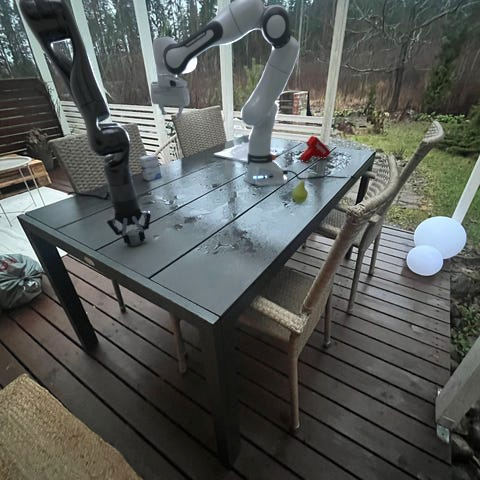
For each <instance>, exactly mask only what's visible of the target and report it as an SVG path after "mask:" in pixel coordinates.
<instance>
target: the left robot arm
mask: <svg viewBox="0 0 480 480" xmlns="http://www.w3.org/2000/svg"><path fill="white" fill-rule="evenodd" d="M18 7H19V11H20V13H21V16H22V17H23V20H24V21H25V23H26V26H27V27H28V28H29V30H30V33H32V35H33V37H34V39H36V41H37V43H38V44H39V46H40V47H41V49H42V50H43V52H44V54H45V55H46V57H47V58H48V60H49V62H50V63H51V64H52V66H53V68H54V70H55V72H56V73H57V75H58V77H59V79H60V81H61V83H62V85H63V86H64V88H65V91H66V92H67V94H68V96H69V98H70V99H71V101H72V103H73V104H74V105H75V107H76V109H77V111H78V112H79V114H80V116H81V118H82V119H83V121H84V126H85V130H86V137H87V138H86V139H87V143H88V146H89V148H90V150H91V152H92V153H94V154H95V155H96V156H98V157H104V158H103V163H104V164H103V168H102V169H103V173H104V176H105V180H106V184H107V189H108V190H106V195H105V197H103V196H100V195H98V194H95V193H94V194H93V193H83V192H77V191H73V190H72V191H69V192H68V193H67V196H70V195H71V194H75V195H77V196H78V195H79V196H86V197H96V198H99V199H101V200H107V199H108V198H109V199H110V200H111V204H112V206H113V211H114V215H113V216H112V217H107V218H106V224H107V225H108V226H109V228H110V229H111V230H112V231H113V233H114V234H115V235H116V236H122V237H123V238H122V239H123V242H124V244H127V245H130V244H129V240H128V237H127V232H128V231H127V230H128V227H130V226H133V225H134V226H136V227H137V230H139V232H140V236H141V240H142V242H144V241H145V240H146V235H145V231H146V230H149V229H150V223H151V217H152V214H151V212H150V210H146V211H143V210H142V209H141V208H140V204H139V200H138V195H137V190H136V187H135V185H134V181H133V178H132V173H131V169H130V153H131V141H130V136H129V133H128V132H127V131H126V129H125V128H123V127H122V126H121V125H120V124H119V123H118V122H103V121H105V120H108V119H109V118H110V117H111V111H110V107H109V106H108V103H107V101H106V99H105V96H104V94H103V92H102V90H101V88H100V85H99V83H98V80H97V78H96V75H95V72H94V70H93V66H92V62H91V60H90V56H89V53H88V51H87V48H86V45H85V42H84V40H83V37H82V34H81V30H80V29H79V25H78V23H77V21H76V18H75V15H74V14H73V11H72V9H71V7H70V5H69V3H68V1H66V0H19V1H18ZM65 41H70V44H71V49H72V59H71V58H70V57H68V56H67V55H66V54H65V53H63V52H62V51H61V50H60V48H59V47H58V46H57V45H56V44H55V43H59V42H65ZM142 216H143V218H144V223H143V224H142V222H141V221H140V220H141V218H142ZM116 221H117V222H118V223H120V224H121V229H120V228H119V227H118V226H117V224H116Z"/></svg>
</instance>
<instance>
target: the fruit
mask: <svg viewBox="0 0 480 480" xmlns="http://www.w3.org/2000/svg"><path fill="white" fill-rule="evenodd" d="M309 177H311V175H310V174H309V175H308V176H307V177H305V178H306V179H301V181H300V182H298V184H297V185H296V186H295V187H294V188H293V190H292V191H291V198H292V200H293V201H294V202H295V203H297V204H301V203H304V202H305V201H306V200H307V198H308V196H309V195H308V190H307V189H306V184H305V183H306V180H308V179H307V178H309Z"/></svg>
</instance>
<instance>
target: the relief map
mask: <svg viewBox="0 0 480 480" xmlns="http://www.w3.org/2000/svg"><path fill="white" fill-rule="evenodd" d="M248 152H249V141H247V142H245V141H243V142H242V143H241V144H238V145H236V146H232V147H230V148H229V147H228V148H227V149H226V148H224V149H222V151H219V152H215V153H213V156H214V157H218V158H222V159H227V160H230V161H231V160H232V161H236V162H242V163H246V164H248V163H247V155H248ZM270 153H272V154H273V155H274V156H275V157H277V156H279V155H280V153H279V152H277V151H272V150H270Z"/></svg>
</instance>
